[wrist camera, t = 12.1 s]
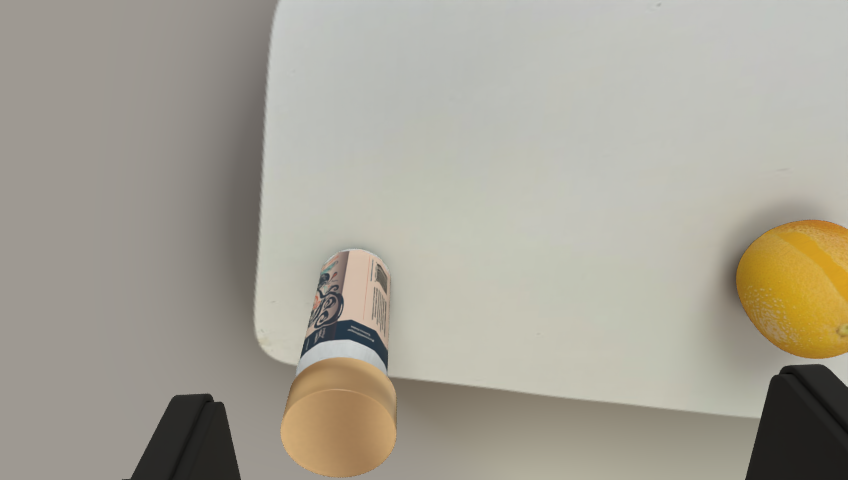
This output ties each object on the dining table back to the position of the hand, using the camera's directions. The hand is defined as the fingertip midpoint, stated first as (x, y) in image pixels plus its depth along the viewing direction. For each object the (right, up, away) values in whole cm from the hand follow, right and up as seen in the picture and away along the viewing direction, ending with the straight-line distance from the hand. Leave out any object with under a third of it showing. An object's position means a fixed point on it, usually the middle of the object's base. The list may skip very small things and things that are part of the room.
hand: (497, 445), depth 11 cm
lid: (-5, -5, +21) cm, 22 cm away
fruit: (+23, +2, +32) cm, 40 cm away
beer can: (-6, +1, +32) cm, 32 cm away
